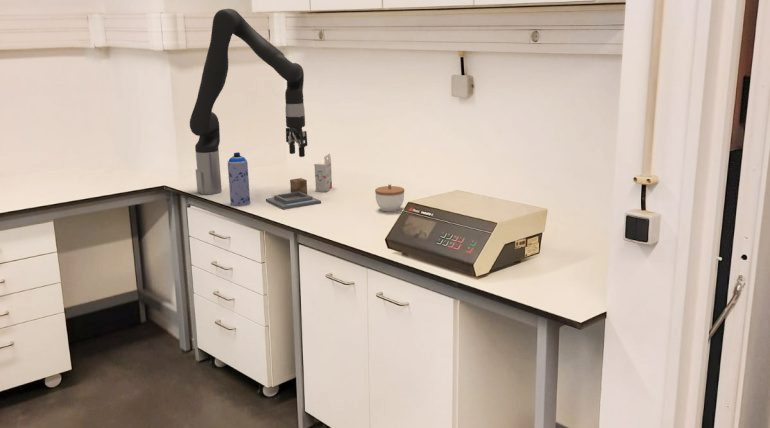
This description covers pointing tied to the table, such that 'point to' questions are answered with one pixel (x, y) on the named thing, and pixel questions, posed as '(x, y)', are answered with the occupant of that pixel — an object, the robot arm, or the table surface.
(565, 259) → the table surface
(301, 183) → the block
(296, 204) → the holder
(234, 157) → the aerosol can
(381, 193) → the lidded jar
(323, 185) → the ink cartridge box
